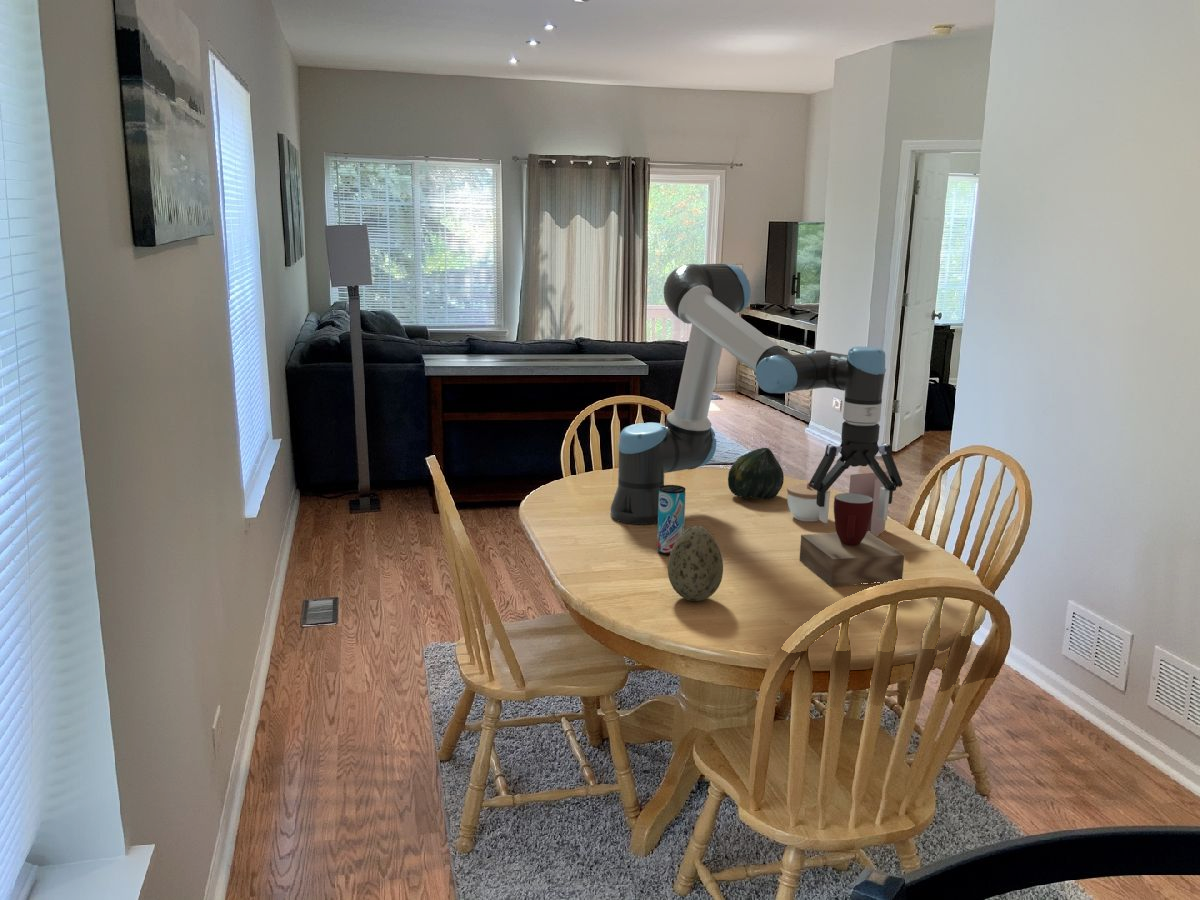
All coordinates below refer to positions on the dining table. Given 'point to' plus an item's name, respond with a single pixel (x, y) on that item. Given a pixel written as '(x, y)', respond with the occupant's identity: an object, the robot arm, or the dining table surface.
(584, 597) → the dining table surface
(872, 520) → the greeting card
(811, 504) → the lidded jar
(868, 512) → the mug
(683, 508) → the beverage can
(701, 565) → the decorative egg
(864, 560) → the walnut block
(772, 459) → the squash
